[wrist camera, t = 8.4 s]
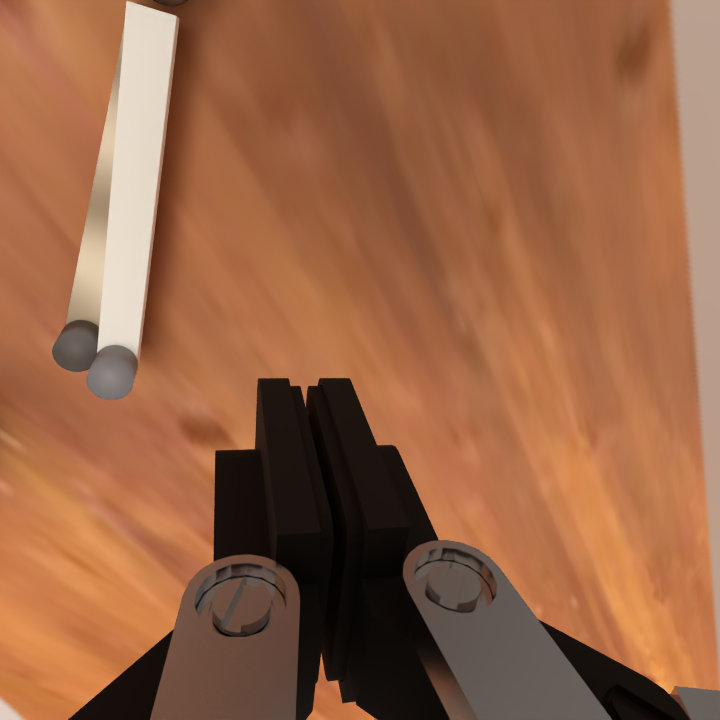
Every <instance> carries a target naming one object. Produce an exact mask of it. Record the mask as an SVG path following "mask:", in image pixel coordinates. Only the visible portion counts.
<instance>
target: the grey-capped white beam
mask: <svg viewBox="0 0 720 720" xmlns="http://www.w3.org/2000/svg"><path fill="white" fill-rule="evenodd" d="M154 1H156V2H158V3H160V4H163V5H169V6H174V5H179V4H182V3H184V2H186V1H187V0H154ZM129 2H130V1H129ZM132 3H133V2H132ZM124 27H125V25H124ZM123 38H124V30H123V35H122V40H121V45H120V50H119V55H118V60H117V66H116V71H115V76H114V81H113V86H112V91H111V96H110V101H109V106H108V111H107V116H106V121H105V127H104V132H103V137H102V142H101V147H100V152H99V157H98V162H97V167H96V172H95V177H94V182H93V187H92V193H91V198H90V203H89V208H88V213H87V218H86V223H85V228H84V233H83V238H82V243H81V248H80V254H79V259H78V264H77V269H76V274H75V279H74V284H73V289H72V294H71V299H70V304H69V309H68V315H67V320H66V325H65V327H64V329H63V330H62V332H61V334H60V335H59V337H58V339H57V340H56V342H55V344H54V346H53V349H52V353H53V357H54V359H55V361H56V362H57V363H58V365H60V366H61V367H62V368H64V369H66V370H69V371H73V372H81V371H86V370H88V369H90V367H91V365H92V363H93V361H94V358H95V356H96V354H97V347H98V335H99V323H100V312H101V300H102V288H103V276H104V264H105V252H106V240H107V228H108V217H109V205H110V193H111V181H112V169H113V157H114V145H115V133H116V122H117V110H118V98H119V86H120V74H121V62H122V50H123Z"/></svg>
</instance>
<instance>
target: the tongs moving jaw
mask: <svg viewBox="0 0 720 720" xmlns="http://www.w3.org/2000/svg"><path fill="white" fill-rule="evenodd" d="M178 28H179V18H178V17H177V16H175V15H172V14H168V13H165V12H162V11H159V10H155V9H152V8H149V7H145V6H142V5H139V4H136V3H132V2H129V1H127V3H126V15H125V27H124V38H123V50H122V62H121V74H120V86H119V98H118V110H117V122H116V133H115V145H114V157H113V169H112V181H111V193H110V205H109V217H108V228H107V240H106V252H105V264H104V276H103V288H102V300H101V312H100V323H99V335H98V347H97V354H96V356H95V358H94V361H93V363H92V365H91V367H90V370H89V372H88V375H87V385H88V387H89V389H90V390H91V391H92V393H94V394H95V395H96V396H98V397H100V398H102V399H106V400H117V399H120V398H123V397H125V396H126V395H127V394H128V393H129V392H130V391H131V389H132V387H133V383H134V381H135V378H136V374H137V370H138V367H139V360H140V351H141V343H142V334H143V326H144V317H145V309H146V300H147V292H148V283H149V275H150V266H151V258H152V249H153V241H154V232H155V224H156V215H157V207H158V198H159V190H160V181H161V173H162V164H163V156H164V147H165V139H166V130H167V122H168V113H169V105H170V96H171V88H172V79H173V71H174V62H175V53H176V45H177V36H178Z"/></svg>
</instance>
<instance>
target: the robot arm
mask: <svg viewBox="0 0 720 720" xmlns="http://www.w3.org/2000/svg"><path fill="white" fill-rule="evenodd" d="M321 653H322V659H323V665H324V671H325V676H326V679H327V681H335V680H338V682H339V687H340V692H341V698H342V703H348V702H355V701H356V705H357V706H359V707H360V708H362V709H363V710H364V711H366V712H367V713H369V714H370V715H371V716H373V717H374V718H375V719H374V720H720V691H717V690H707V689H697V688H688V687H678V686H675V687H674V689H673V691H672V693H671V694H668V693H667V692H666V691H665V690H664V689H663V688H661V687H660V686H658V685H657V684H655V683H654V682H652V681H651V680H649V679H648V678H646V677H645V676H643V675H641V674H639V673H637V672H635V671H633V670H632V669H630V668H628V667H626V666H624V665H622V664H620V663H619V662H617V661H615V660H613V659H611V658H609V657H607V656H606V655H604V654H602V653H600V652H598V651H596V650H594V649H592V648H591V647H589V646H587V645H585V644H583V643H581V642H579V641H578V640H576V639H574V638H572V637H570V636H568V635H566V634H565V633H563V632H561V631H559V630H557V629H555V628H553V627H552V626H550V625H548V624H546V623H544V622H542V621H540V620H538V619H537V617H536V616H535V615H534V613H533V612H532V611H531V609H530V608H529V607H528V605H527V604H526V603H525V601H524V600H523V599H522V597H521V596H520V595H519V593H518V592H517V591H516V589H515V588H514V586H513V585H512V584H511V582H510V581H509V580H508V578H507V577H506V576H505V574H504V573H503V572H502V570H501V569H500V568H499V567H498V566H497V565H496V564H495V562H494V561H493V560H492V559H491V558H490V557H488V556H487V555H485V554H484V553H482V552H481V551H479V550H478V549H476V548H474V547H471V546H469V545H466V544H464V543H461V542H455V541H449V540H438V537H437V535H436V533H435V531H434V529H433V526H432V524H431V522H430V520H429V518H428V515H427V513H426V511H425V509H424V507H423V504H422V502H421V500H420V498H419V496H418V493H417V491H416V489H415V487H414V485H413V482H412V480H411V478H410V476H409V473H408V471H407V469H406V467H405V465H404V462H403V460H402V458H401V456H400V454H399V451H398V450H397V448H396V447H395V446H393V445H378V446H377V444H376V442H375V439H374V437H373V434H372V432H371V429H370V427H369V424H368V422H367V419H366V417H365V414H364V412H363V410H362V407H361V405H360V402H359V400H358V397H357V395H356V392H355V390H354V387H353V385H352V382H351V380H350V379H349V378H320V379H319V382H318V386H309V387H308V390H307V400H306V407H305V403H304V399H303V395H302V391H301V387H300V386H290V382H289V379H288V378H258V386H257V411H256V438H255V449H250V450H218V451H216V452H215V509H214V562H213V563H211V564H209V565H208V566H206V567H204V568H203V569H201V570H200V571H199V572H198V573H197V574H196V575H195V576H194V577H193V578H192V579H191V580H190V582H189V584H188V586H187V588H186V590H185V592H184V594H183V597H182V601H181V604H180V608H179V612H178V616H177V620H176V623H175V627H174V629H173V630H172V631H171V632H170V633H169V634H168V635H166V636H165V637H164V638H163V639H162V640H161V641H159V642H158V643H157V644H156V645H155V646H154V647H152V648H151V649H150V650H149V651H148V652H147V653H145V654H144V655H143V656H142V657H141V658H140V659H138V660H137V661H136V662H135V663H134V664H133V665H131V666H130V667H129V668H128V669H127V670H126V671H124V672H123V673H122V674H121V675H120V676H119V677H117V678H116V679H115V680H114V681H113V682H111V683H110V684H109V685H108V686H107V687H106V688H104V689H103V690H102V691H101V692H100V693H99V694H97V695H96V696H95V697H94V698H93V699H92V700H90V701H89V702H88V703H87V704H86V705H85V706H83V707H82V708H81V709H80V710H79V711H78V712H76V713H75V714H74V715H73V716H72V717H71V718H69V719H68V720H306V719H307V717H308V716H309V715H310V714H311V712H312V710H313V701H314V693H315V684H316V683H317V681H318V675H319V666H320V658H321Z"/></svg>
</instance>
